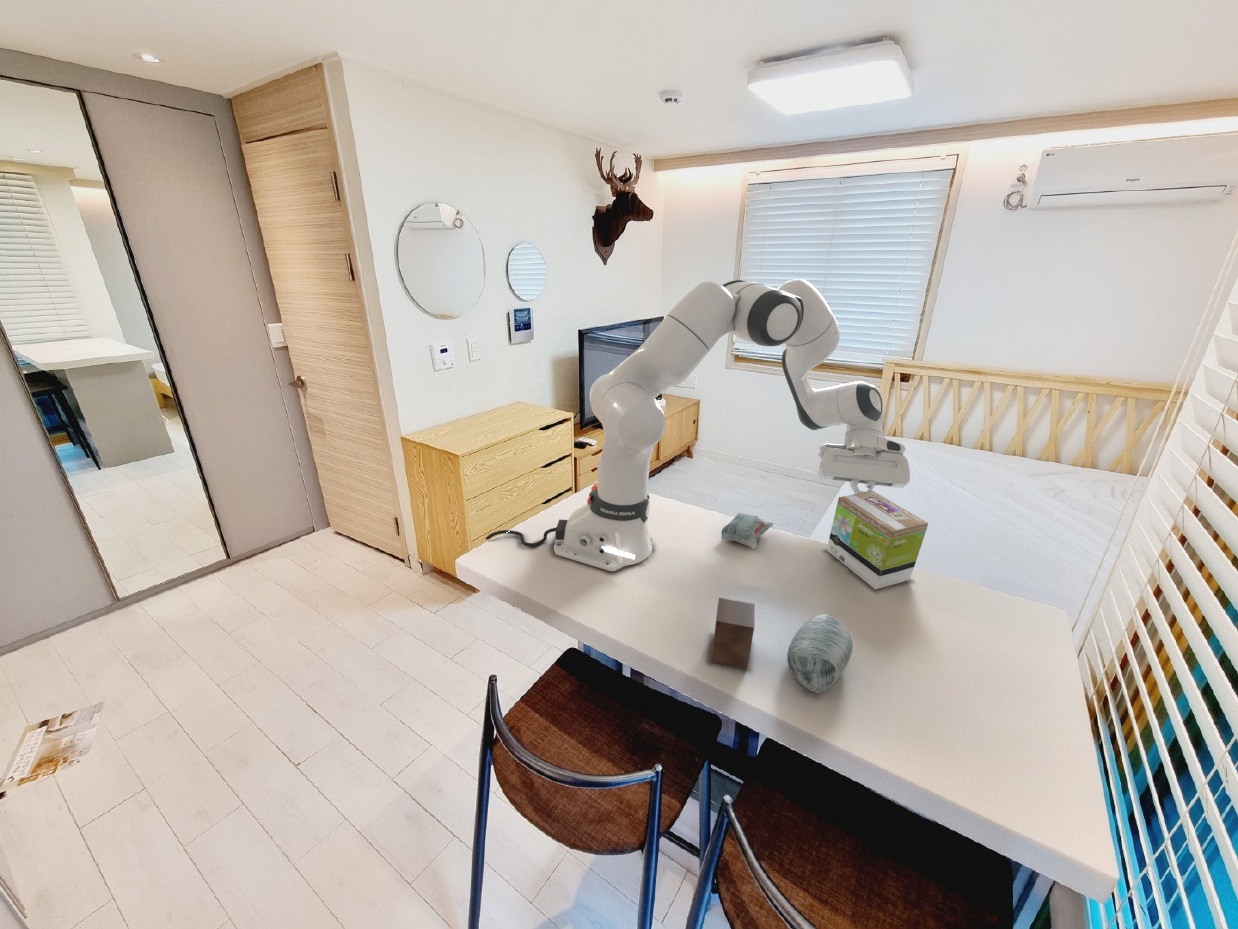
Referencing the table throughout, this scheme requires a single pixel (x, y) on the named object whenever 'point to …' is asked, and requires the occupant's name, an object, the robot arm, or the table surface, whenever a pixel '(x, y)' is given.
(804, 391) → the robot arm
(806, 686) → the spool
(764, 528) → the packaged food
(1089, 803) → the table surface
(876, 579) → the tea box
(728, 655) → the walnut block
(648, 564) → the table surface
